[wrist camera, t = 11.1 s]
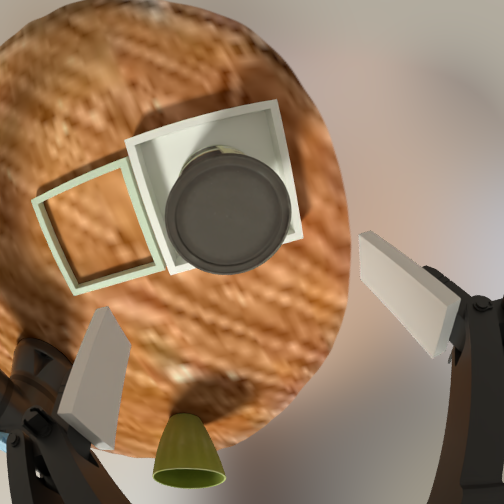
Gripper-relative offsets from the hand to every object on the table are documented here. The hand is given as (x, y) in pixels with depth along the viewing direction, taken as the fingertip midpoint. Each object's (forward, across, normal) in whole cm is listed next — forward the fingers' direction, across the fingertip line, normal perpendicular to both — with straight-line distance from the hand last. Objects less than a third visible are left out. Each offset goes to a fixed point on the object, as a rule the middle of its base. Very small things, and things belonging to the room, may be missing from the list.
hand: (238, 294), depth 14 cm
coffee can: (+24, +1, 0) cm, 24 cm away
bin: (+25, +1, 0) cm, 25 cm away
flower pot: (+25, -22, -47) cm, 58 cm away
